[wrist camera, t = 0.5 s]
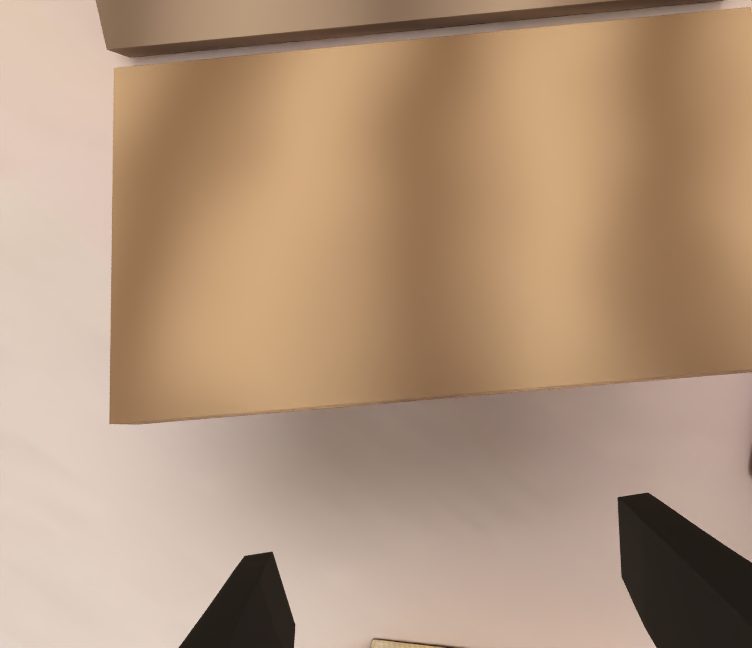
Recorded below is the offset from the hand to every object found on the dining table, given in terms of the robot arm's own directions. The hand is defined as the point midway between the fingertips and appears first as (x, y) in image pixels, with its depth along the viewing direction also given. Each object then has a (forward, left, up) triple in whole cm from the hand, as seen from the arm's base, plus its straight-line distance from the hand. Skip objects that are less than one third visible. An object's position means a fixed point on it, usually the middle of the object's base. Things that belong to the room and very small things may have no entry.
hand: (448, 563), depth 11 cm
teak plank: (-1, -6, -7) cm, 9 cm away
